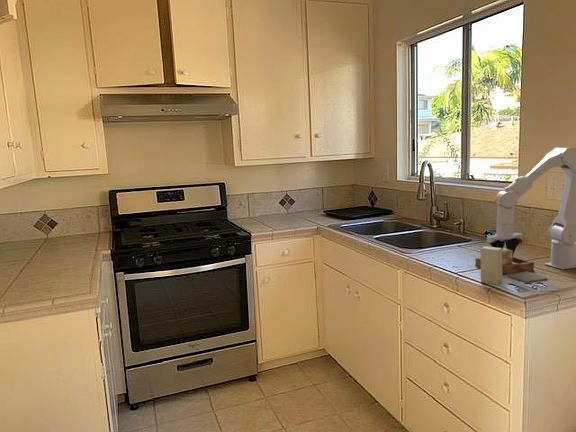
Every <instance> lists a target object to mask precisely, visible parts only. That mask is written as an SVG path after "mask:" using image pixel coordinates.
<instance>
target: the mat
mask: <svg viewBox="0 0 576 432" xmlns="http://www.w3.org/2000/svg"><path fill="white" fill-rule="evenodd" d="M505 276H506V277H507V276H508V278H510V277H511V278H510V279H513V280H516V281H519V282H521V281H522V282H521V283H524V284H528V283H529V284H530V283H536V282H541V281H548V278H547V277H546V276H543V275H539V274H536V273H534V272H531V271H526V272H519V273H512V274H506V275H505Z"/></svg>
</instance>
